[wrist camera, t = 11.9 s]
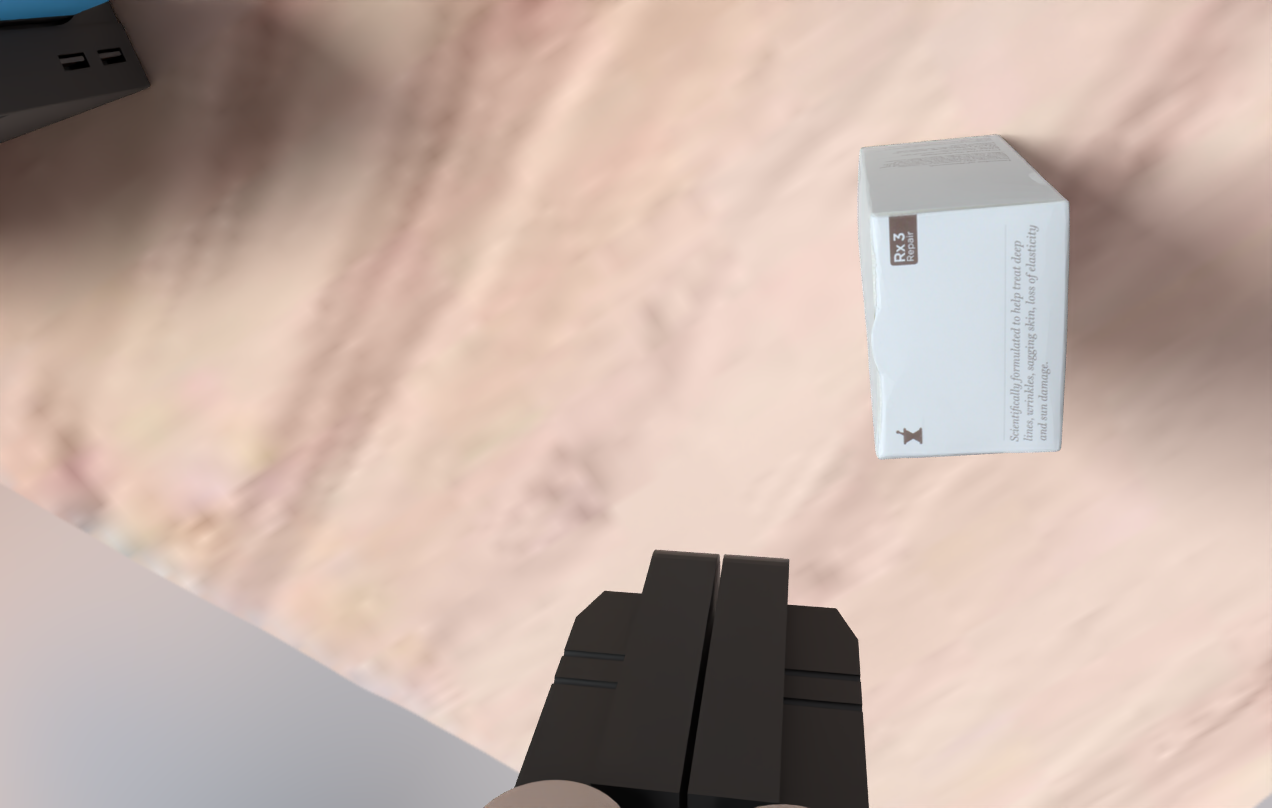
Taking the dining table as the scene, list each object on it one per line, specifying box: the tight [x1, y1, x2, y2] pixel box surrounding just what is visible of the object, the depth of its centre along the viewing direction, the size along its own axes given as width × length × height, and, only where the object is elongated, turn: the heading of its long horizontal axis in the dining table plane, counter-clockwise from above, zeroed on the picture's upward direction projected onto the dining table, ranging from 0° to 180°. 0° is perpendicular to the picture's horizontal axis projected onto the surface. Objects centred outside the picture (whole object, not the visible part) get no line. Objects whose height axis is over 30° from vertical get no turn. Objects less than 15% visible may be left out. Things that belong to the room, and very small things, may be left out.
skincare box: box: [858, 134, 1070, 459], centre depth 37 cm, size 8×6×15 cm
